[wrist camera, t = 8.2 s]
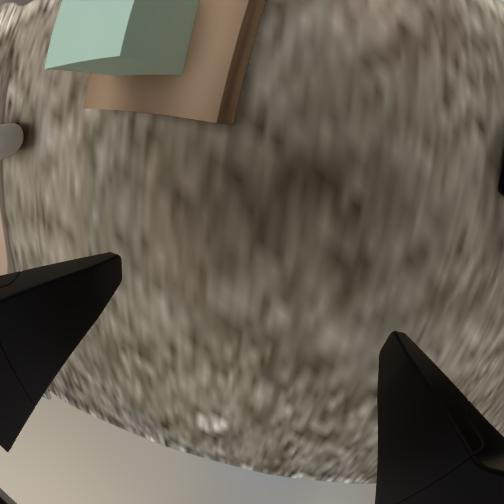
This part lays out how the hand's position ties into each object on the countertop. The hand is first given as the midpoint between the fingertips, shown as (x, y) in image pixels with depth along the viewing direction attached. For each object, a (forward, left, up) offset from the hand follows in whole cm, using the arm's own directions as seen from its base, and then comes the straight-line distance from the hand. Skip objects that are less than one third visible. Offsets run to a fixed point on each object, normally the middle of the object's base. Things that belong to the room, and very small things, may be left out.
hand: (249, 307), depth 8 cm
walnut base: (+9, -10, -12) cm, 18 cm away
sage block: (+9, -10, -8) cm, 16 cm away
